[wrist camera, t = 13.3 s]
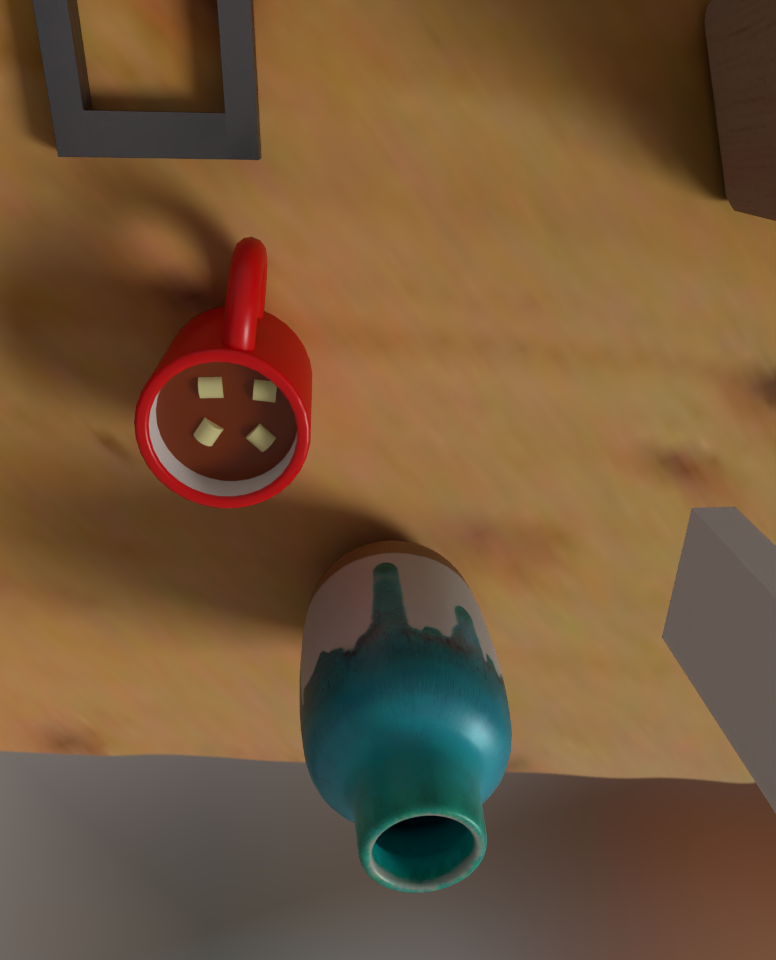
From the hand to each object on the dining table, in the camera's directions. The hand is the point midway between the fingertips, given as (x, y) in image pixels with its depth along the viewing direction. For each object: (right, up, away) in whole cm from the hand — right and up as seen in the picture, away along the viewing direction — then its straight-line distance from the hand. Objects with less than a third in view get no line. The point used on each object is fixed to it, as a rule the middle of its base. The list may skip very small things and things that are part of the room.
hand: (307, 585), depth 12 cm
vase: (+1, -5, +35) cm, 35 cm away
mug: (-6, +9, +27) cm, 30 cm away
